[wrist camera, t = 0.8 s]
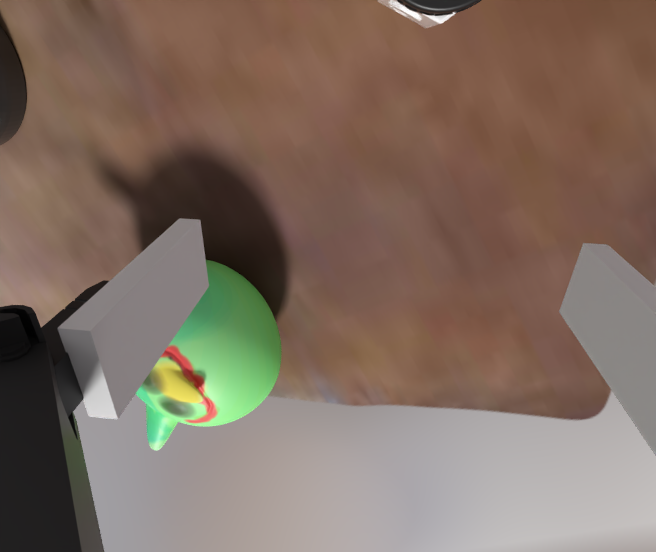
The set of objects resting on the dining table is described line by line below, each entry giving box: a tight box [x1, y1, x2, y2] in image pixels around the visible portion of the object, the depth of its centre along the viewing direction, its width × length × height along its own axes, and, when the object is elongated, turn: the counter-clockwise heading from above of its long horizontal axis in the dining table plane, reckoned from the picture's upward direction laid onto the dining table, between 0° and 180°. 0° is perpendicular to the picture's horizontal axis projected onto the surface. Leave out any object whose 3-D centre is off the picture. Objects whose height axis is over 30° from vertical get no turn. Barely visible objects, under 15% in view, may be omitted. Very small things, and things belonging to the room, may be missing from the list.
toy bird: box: [136, 260, 281, 450], centre depth 43 cm, size 18×17×15 cm
